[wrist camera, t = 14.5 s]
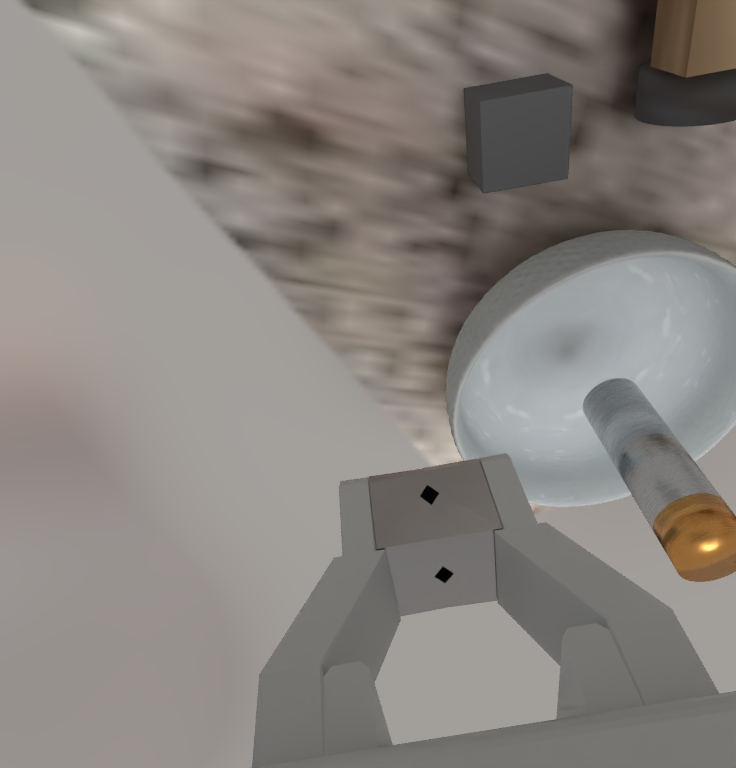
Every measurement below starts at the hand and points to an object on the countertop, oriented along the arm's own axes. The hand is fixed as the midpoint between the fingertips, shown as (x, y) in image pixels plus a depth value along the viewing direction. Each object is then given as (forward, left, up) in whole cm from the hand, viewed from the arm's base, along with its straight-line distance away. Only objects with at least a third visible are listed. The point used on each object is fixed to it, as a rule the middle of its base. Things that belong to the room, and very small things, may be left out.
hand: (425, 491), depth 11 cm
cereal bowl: (-11, +13, -24) cm, 29 cm away
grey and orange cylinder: (-11, +13, -16) cm, 23 cm away
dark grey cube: (-8, 0, -23) cm, 25 cm away
